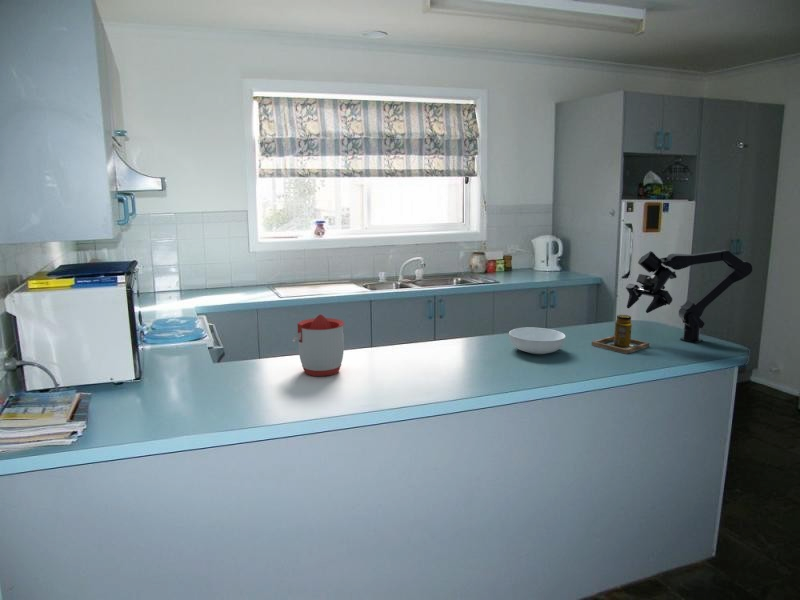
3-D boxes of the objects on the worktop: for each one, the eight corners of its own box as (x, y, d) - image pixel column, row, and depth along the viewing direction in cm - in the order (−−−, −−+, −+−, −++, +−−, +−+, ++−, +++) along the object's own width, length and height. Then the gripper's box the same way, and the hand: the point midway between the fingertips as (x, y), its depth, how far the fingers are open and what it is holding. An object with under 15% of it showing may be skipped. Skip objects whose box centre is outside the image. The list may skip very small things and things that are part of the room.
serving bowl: (570, 359, 222) (572, 341, 220) (513, 358, 222) (513, 340, 221) (557, 343, 242) (558, 326, 241) (504, 343, 242) (505, 326, 241)
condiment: (634, 345, 239) (636, 316, 236) (624, 350, 233) (626, 319, 231) (616, 342, 244) (618, 313, 242) (606, 346, 238) (608, 316, 236)
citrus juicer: (289, 368, 211) (287, 311, 207) (338, 362, 217) (337, 307, 213) (298, 382, 197) (296, 321, 193) (350, 376, 203) (349, 317, 199)
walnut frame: (614, 338, 249) (615, 335, 249) (649, 346, 238) (649, 342, 237) (591, 345, 239) (591, 341, 239) (626, 353, 228) (626, 350, 228)
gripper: (630, 263, 246) (609, 293, 243) (670, 270, 230) (647, 301, 227) (642, 281, 252) (621, 310, 249) (682, 288, 236) (660, 319, 233)
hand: (636, 310), depth 239 cm, fingers open, 9 cm apart
